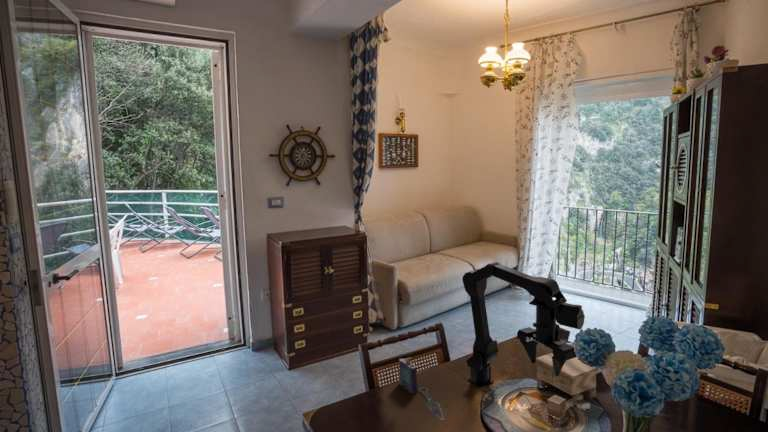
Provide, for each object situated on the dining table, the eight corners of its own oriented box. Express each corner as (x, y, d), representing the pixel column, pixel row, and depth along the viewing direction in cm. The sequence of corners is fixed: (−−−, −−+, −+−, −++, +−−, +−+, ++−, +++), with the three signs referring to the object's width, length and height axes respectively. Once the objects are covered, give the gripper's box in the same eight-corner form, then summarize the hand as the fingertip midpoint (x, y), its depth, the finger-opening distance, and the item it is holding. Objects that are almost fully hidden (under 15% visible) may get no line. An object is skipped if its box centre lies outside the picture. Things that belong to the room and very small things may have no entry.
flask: (398, 383, 144) (397, 354, 143) (405, 381, 145) (404, 352, 144) (413, 395, 136) (412, 364, 135) (420, 392, 137) (419, 362, 136)
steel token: (584, 412, 122) (584, 408, 122) (573, 406, 126) (573, 402, 126) (593, 408, 124) (593, 404, 124) (581, 402, 128) (581, 398, 128)
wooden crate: (571, 407, 125) (572, 376, 124) (534, 386, 138) (534, 358, 137) (597, 397, 130) (598, 367, 129) (559, 377, 143) (559, 350, 142)
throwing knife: (427, 388, 140) (427, 386, 140) (450, 421, 121) (450, 419, 121) (415, 390, 139) (415, 388, 139) (437, 423, 120) (437, 422, 120)
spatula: (558, 420, 119) (558, 404, 118) (547, 415, 121) (547, 399, 121) (586, 399, 129) (586, 384, 128) (575, 395, 131) (575, 380, 131)
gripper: (591, 326, 119) (589, 376, 121) (541, 307, 136) (540, 351, 137) (564, 333, 114) (562, 385, 116) (516, 313, 131) (515, 359, 133)
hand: (544, 369), depth 125 cm, fingers open, 9 cm apart
